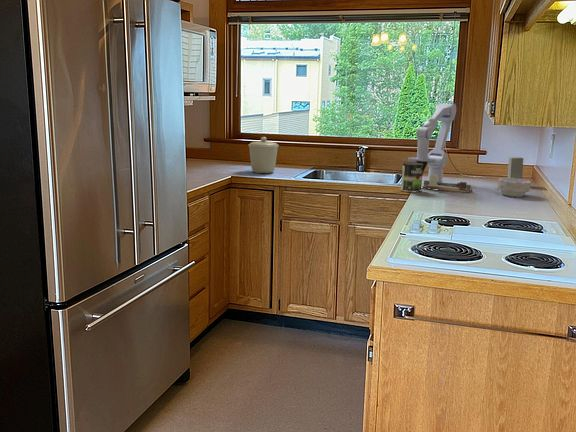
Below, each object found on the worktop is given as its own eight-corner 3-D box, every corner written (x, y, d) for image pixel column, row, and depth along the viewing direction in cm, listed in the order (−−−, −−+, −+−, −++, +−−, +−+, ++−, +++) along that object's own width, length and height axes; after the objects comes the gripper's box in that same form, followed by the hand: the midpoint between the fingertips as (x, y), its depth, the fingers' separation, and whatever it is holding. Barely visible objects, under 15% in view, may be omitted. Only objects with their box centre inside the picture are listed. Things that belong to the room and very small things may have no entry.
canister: (265, 169, 340) (266, 135, 335) (284, 173, 327) (285, 137, 322) (241, 171, 329) (242, 136, 324) (260, 175, 315) (260, 138, 311)
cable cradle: (425, 185, 297) (426, 177, 296) (471, 190, 286) (472, 181, 285) (421, 188, 288) (421, 179, 287) (468, 193, 278) (469, 184, 277)
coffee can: (425, 192, 279) (427, 164, 276) (408, 192, 275) (410, 164, 272) (413, 188, 289) (415, 161, 285) (396, 189, 285) (398, 162, 282)
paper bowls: (532, 195, 279) (534, 179, 277) (525, 199, 266) (527, 183, 264) (500, 191, 287) (502, 176, 285) (493, 195, 275) (495, 179, 273)
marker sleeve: (430, 185, 293) (431, 174, 291) (437, 185, 291) (438, 174, 290) (428, 186, 290) (429, 175, 288) (436, 186, 288) (437, 175, 286)
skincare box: (521, 187, 301) (525, 158, 297) (508, 186, 302) (511, 157, 299) (518, 184, 309) (522, 156, 305) (505, 183, 310) (508, 155, 307)
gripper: (407, 149, 289) (405, 175, 292) (434, 151, 282) (432, 178, 286) (410, 148, 295) (408, 173, 298) (438, 150, 289) (435, 176, 292)
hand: (420, 175), depth 292 cm, fingers closed
